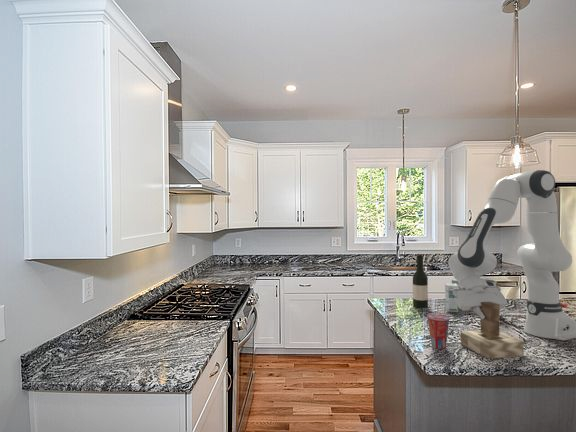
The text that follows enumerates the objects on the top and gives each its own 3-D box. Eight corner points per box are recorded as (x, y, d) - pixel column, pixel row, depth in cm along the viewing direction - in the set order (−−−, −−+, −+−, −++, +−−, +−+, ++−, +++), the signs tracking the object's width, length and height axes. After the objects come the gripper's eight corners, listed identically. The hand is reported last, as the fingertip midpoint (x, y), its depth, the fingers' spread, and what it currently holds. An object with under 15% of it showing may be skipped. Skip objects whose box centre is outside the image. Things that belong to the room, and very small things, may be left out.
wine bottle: (423, 308, 198) (422, 255, 198) (409, 305, 204) (409, 253, 204) (431, 306, 203) (430, 253, 203) (417, 303, 209) (417, 252, 210)
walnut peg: (490, 331, 140) (490, 301, 140) (499, 335, 136) (499, 304, 136) (480, 332, 139) (480, 302, 139) (489, 336, 135) (489, 304, 135)
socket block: (492, 341, 146) (492, 329, 146) (523, 355, 131) (523, 341, 131) (460, 344, 143) (460, 331, 143) (488, 358, 128) (488, 344, 128)
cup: (453, 346, 141) (452, 316, 141) (446, 352, 135) (445, 321, 135) (429, 340, 147) (429, 312, 147) (421, 346, 141) (421, 316, 141)
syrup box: (448, 311, 191) (447, 285, 191) (445, 309, 197) (444, 282, 197) (459, 312, 190) (459, 285, 190) (456, 309, 196) (455, 283, 196)
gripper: (454, 284, 142) (471, 315, 132) (498, 282, 146) (518, 312, 137) (447, 293, 146) (463, 323, 137) (489, 291, 150) (508, 320, 141)
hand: (491, 318), depth 137 cm, fingers closed on walnut peg, 4 cm apart
